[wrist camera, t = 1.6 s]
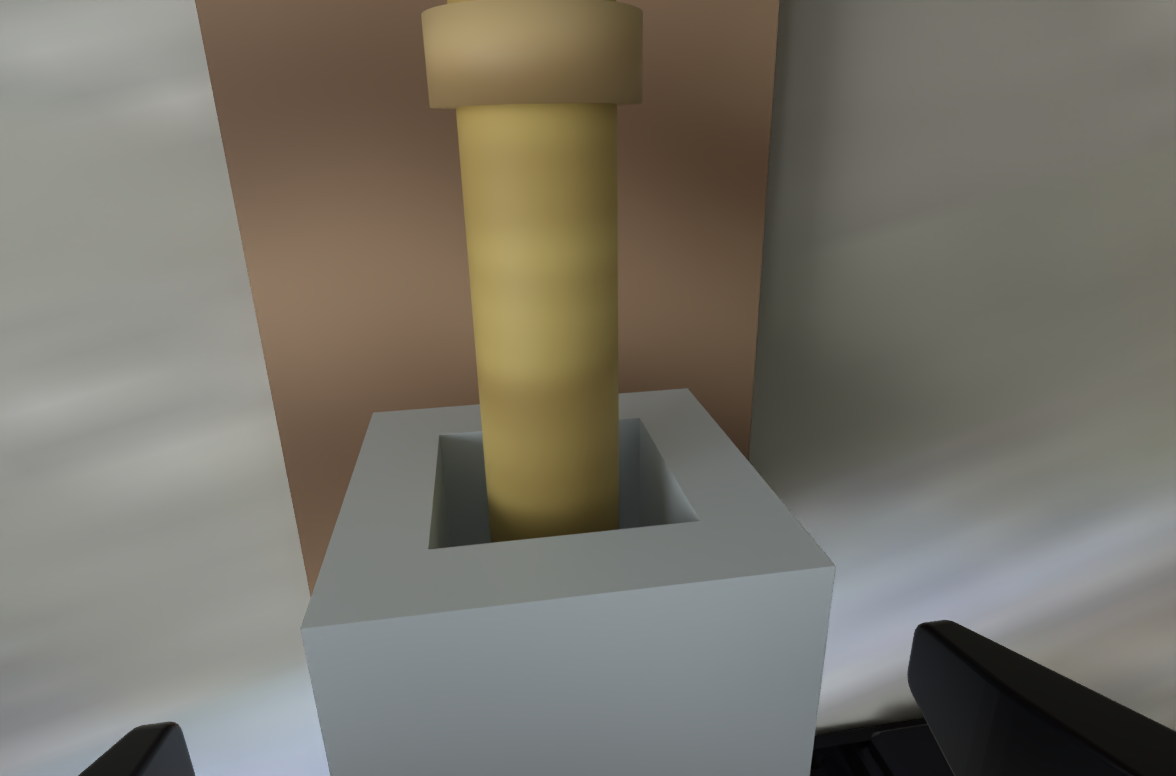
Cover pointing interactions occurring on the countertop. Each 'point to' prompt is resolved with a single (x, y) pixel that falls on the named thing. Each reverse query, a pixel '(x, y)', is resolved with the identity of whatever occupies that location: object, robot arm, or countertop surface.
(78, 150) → the countertop surface
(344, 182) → the cord clamp board
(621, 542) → the white cube with hole
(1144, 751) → the robot arm
